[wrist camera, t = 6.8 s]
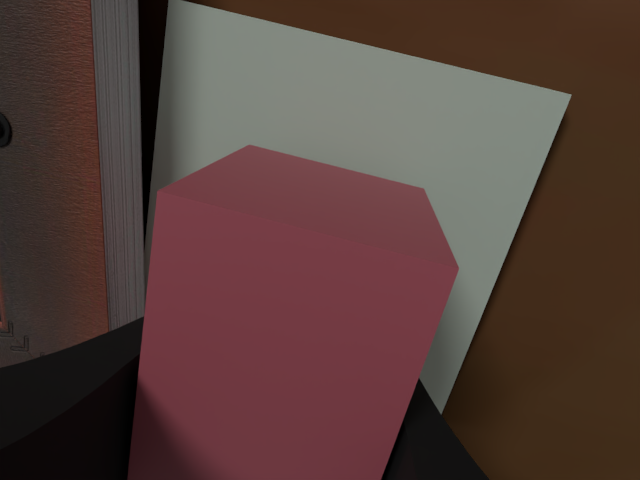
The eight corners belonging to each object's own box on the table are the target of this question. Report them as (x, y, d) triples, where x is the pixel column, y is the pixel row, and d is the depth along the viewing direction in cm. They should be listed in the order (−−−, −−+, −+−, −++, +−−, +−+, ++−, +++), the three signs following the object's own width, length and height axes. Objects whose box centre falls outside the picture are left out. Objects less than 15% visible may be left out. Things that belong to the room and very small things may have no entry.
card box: (249, 144, 11) (157, 190, 6) (423, 188, 11) (459, 268, 6) (201, 426, 14) (114, 595, 10) (336, 463, 14) (316, 652, 9)
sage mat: (394, 513, 17) (395, 528, 16) (133, 441, 17) (124, 453, 16) (562, 93, 11) (571, 94, 11) (179, 1, 12) (168, -3, 11)
